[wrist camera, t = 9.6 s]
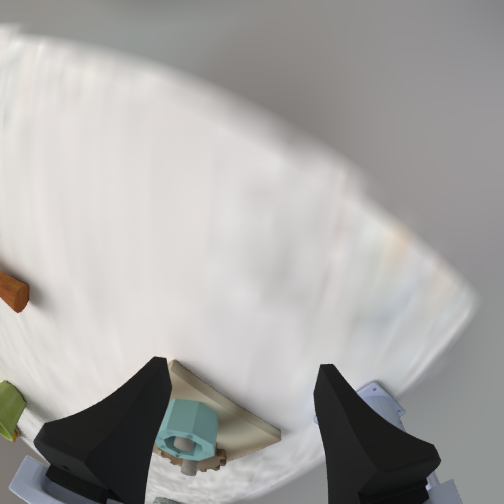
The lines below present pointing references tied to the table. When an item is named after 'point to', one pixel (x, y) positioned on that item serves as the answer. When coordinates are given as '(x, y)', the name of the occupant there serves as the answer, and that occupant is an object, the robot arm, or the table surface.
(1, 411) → the plant pot
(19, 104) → the table surface
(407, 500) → the robot arm
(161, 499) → the camera lens
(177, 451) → the teal faceted ring
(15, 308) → the kendama
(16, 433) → the toy sandwich meal
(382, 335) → the table surface
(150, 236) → the table surface
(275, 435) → the gear board
